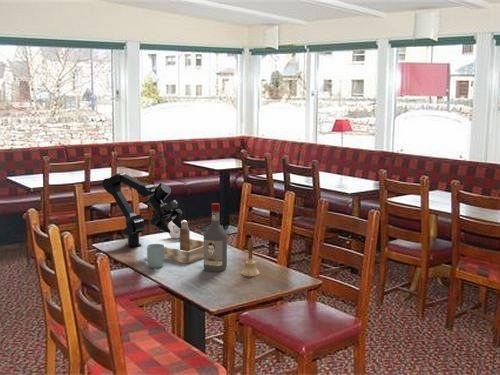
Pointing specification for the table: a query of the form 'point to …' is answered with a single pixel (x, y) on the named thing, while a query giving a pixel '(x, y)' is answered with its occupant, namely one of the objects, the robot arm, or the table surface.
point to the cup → (155, 255)
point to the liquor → (215, 243)
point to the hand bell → (250, 262)
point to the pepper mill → (184, 237)
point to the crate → (186, 252)
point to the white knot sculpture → (174, 230)
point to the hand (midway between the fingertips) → (176, 230)
